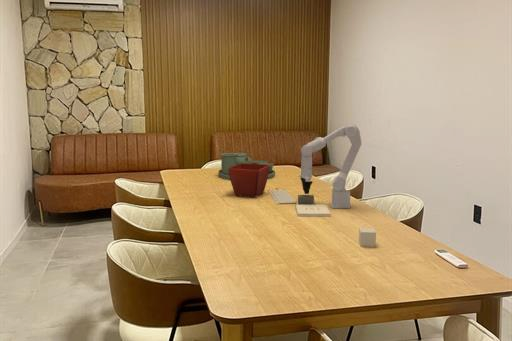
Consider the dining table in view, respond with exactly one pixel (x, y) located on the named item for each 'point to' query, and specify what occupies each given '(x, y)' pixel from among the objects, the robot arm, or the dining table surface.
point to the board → (312, 211)
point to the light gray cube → (367, 237)
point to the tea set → (237, 158)
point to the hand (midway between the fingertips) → (305, 192)
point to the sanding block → (305, 200)
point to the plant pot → (249, 179)
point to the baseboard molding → (282, 197)
